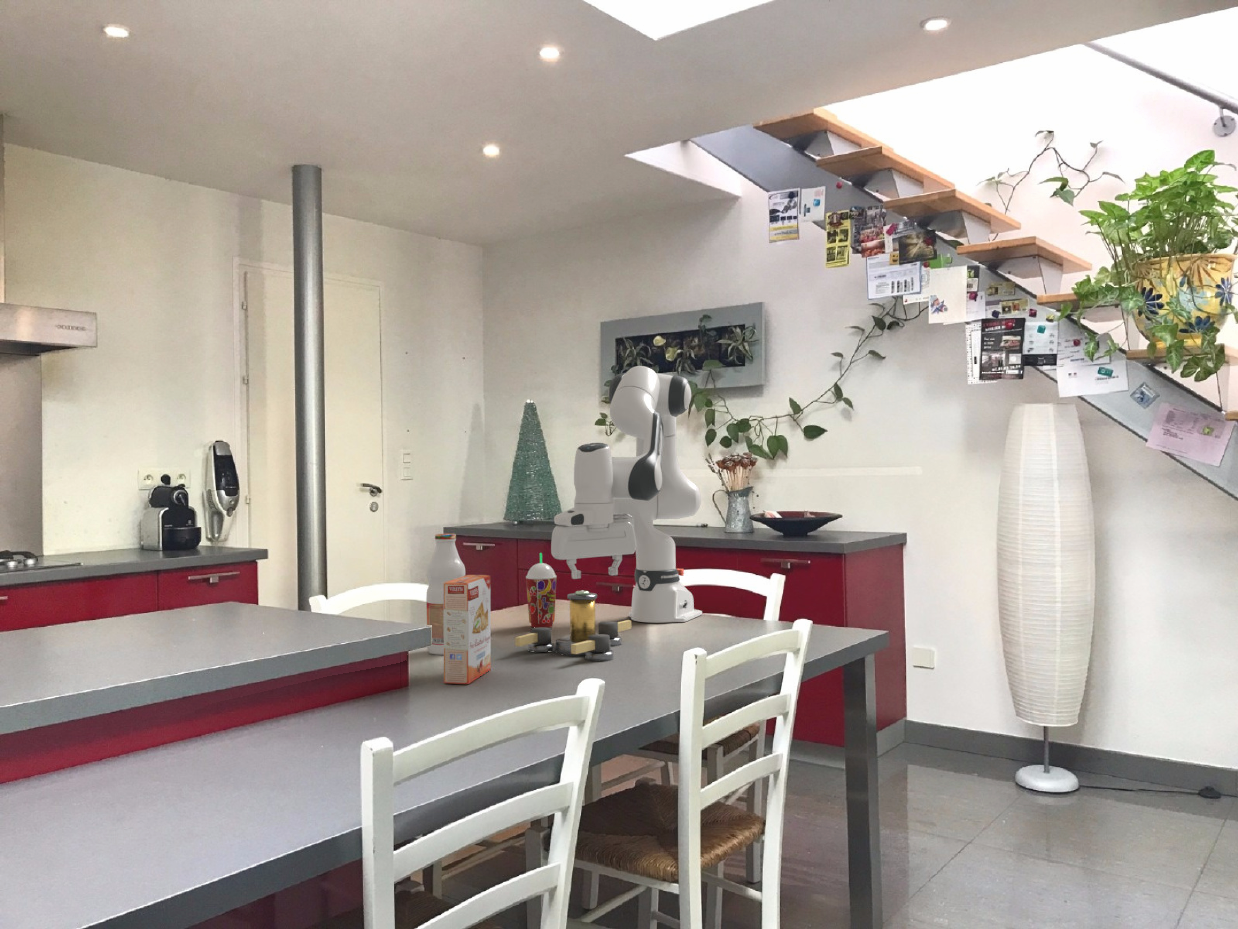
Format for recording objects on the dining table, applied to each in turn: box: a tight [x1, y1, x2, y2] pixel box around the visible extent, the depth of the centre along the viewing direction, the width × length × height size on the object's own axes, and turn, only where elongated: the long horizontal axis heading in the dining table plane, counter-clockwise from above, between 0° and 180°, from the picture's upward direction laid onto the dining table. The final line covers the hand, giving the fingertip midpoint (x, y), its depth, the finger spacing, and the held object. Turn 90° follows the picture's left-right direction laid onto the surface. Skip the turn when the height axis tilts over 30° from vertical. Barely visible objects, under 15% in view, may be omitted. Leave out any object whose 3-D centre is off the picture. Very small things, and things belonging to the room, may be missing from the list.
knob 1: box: [514, 627, 552, 647], centre depth 232 cm, size 11×5×3 cm, turn 146°
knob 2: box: [571, 633, 611, 654], centre depth 222 cm, size 11×5×3 cm, turn 141°
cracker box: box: [443, 574, 492, 685], centre depth 207 cm, size 14×6×21 cm, turn 168°
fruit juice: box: [425, 533, 466, 656], centre depth 235 cm, size 9×9×28 cm
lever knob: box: [597, 619, 632, 638], centre depth 244 cm, size 11×5×3 cm, turn 144°
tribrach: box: [527, 590, 622, 662], centre depth 236 cm, size 21×24×14 cm
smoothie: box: [525, 552, 557, 628], centre depth 267 cm, size 8×8×20 cm
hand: (594, 576), depth 222 cm, fingers open, 8 cm apart
